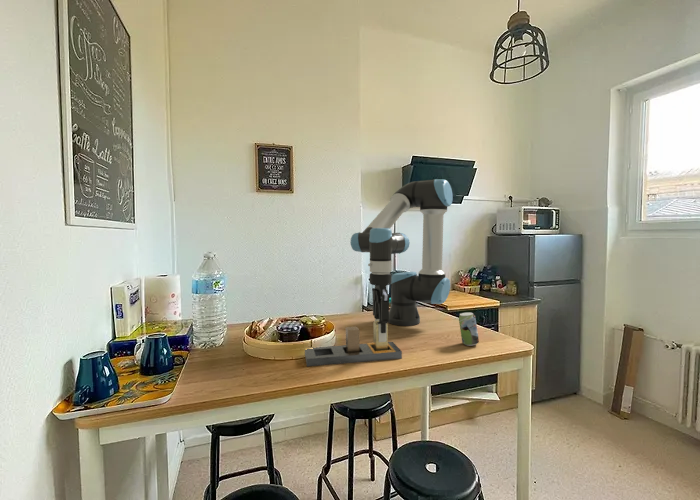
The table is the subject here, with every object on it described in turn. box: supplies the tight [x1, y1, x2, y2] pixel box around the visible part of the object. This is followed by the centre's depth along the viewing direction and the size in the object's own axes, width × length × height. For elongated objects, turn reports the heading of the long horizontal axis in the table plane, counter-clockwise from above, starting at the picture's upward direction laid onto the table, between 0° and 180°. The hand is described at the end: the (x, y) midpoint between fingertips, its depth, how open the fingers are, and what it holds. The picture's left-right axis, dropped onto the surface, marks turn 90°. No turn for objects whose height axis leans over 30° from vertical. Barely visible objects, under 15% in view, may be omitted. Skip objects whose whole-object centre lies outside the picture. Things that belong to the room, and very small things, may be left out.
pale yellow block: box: [372, 321, 389, 351], centre depth 121 cm, size 4×4×10 cm
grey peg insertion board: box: [304, 341, 403, 367], centre depth 120 cm, size 10×32×3 cm, turn 101°
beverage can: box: [458, 312, 480, 347], centre depth 131 cm, size 6×7×12 cm
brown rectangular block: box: [345, 326, 360, 353], centre depth 119 cm, size 4×4×10 cm
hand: (380, 339), depth 121 cm, fingers closed on pale yellow block, 4 cm apart
